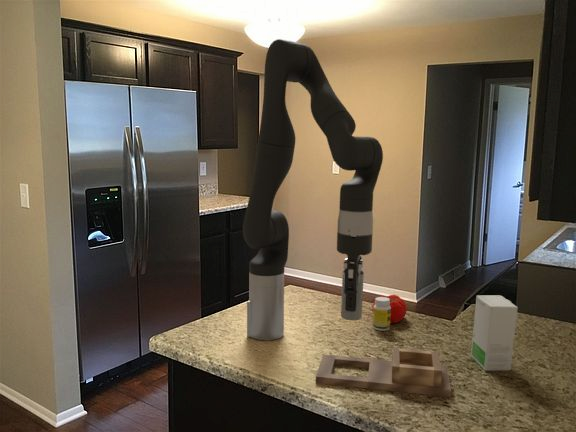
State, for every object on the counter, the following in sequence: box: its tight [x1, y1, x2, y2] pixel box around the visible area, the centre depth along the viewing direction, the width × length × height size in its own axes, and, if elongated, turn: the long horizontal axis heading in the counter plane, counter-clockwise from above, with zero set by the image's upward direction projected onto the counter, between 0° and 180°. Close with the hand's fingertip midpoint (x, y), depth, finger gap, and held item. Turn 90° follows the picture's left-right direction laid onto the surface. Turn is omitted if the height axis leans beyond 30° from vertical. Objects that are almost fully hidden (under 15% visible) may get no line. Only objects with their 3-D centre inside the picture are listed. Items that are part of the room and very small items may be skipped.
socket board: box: [315, 347, 452, 398], centre depth 116 cm, size 28×12×5 cm, turn 79°
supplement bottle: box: [372, 296, 391, 332], centre depth 146 cm, size 5×5×8 cm
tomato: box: [371, 294, 408, 324], centre depth 153 cm, size 10×11×6 cm
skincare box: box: [470, 294, 519, 372], centre depth 123 cm, size 8×7×16 cm
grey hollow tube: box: [340, 270, 365, 321], centre depth 115 cm, size 4×4×10 cm
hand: (351, 306), depth 115 cm, fingers closed on grey hollow tube, 4 cm apart
